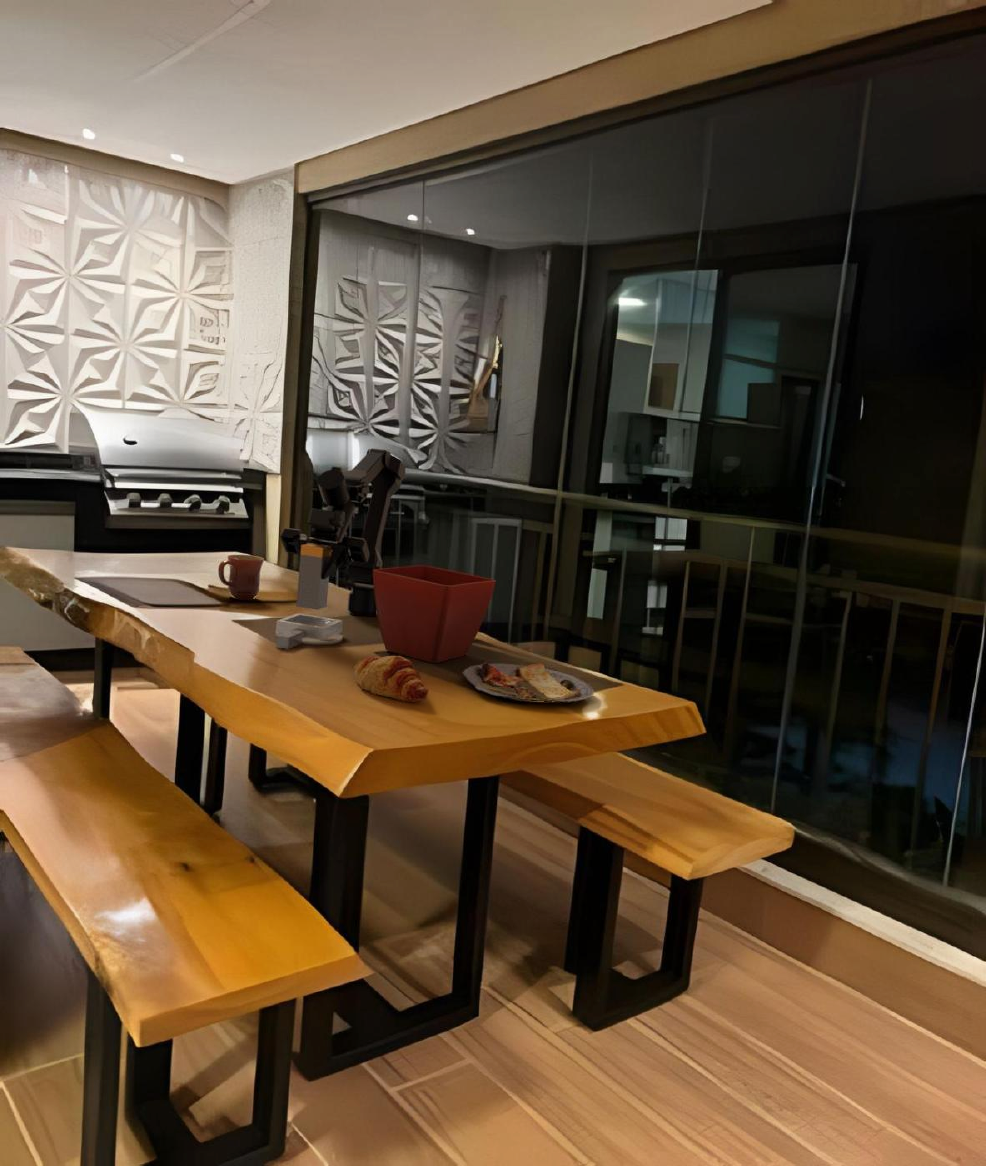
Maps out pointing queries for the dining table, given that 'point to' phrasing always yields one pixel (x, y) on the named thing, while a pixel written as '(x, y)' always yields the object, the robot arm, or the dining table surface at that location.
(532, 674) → the food plate
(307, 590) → the orange square peg
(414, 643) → the plant pot
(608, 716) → the dining table surface
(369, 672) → the croissant
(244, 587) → the mug
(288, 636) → the square socket
